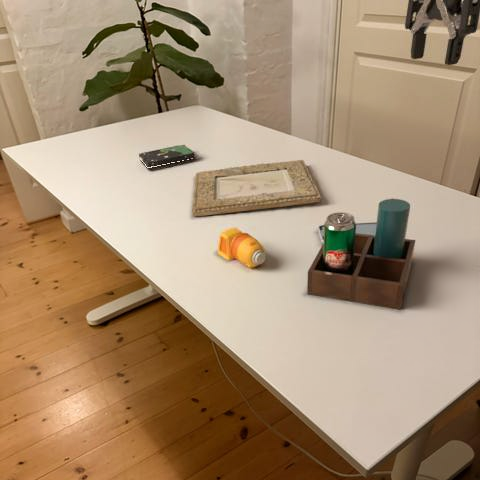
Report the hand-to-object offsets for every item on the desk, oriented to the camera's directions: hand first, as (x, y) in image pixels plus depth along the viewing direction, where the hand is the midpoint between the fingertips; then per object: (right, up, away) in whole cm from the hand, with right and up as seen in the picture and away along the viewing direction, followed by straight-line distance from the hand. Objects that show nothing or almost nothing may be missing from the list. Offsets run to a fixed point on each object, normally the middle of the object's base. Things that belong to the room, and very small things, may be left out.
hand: (433, 61), depth 80 cm
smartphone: (-9, -27, +15) cm, 33 cm away
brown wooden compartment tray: (-12, -37, +3) cm, 39 cm away
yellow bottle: (-33, -33, +11) cm, 48 cm away
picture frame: (-30, -12, +39) cm, 50 cm away
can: (-7, -35, +4) cm, 36 cm away
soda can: (-16, -38, +1) cm, 42 cm away
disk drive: (-55, +3, +61) cm, 83 cm away
